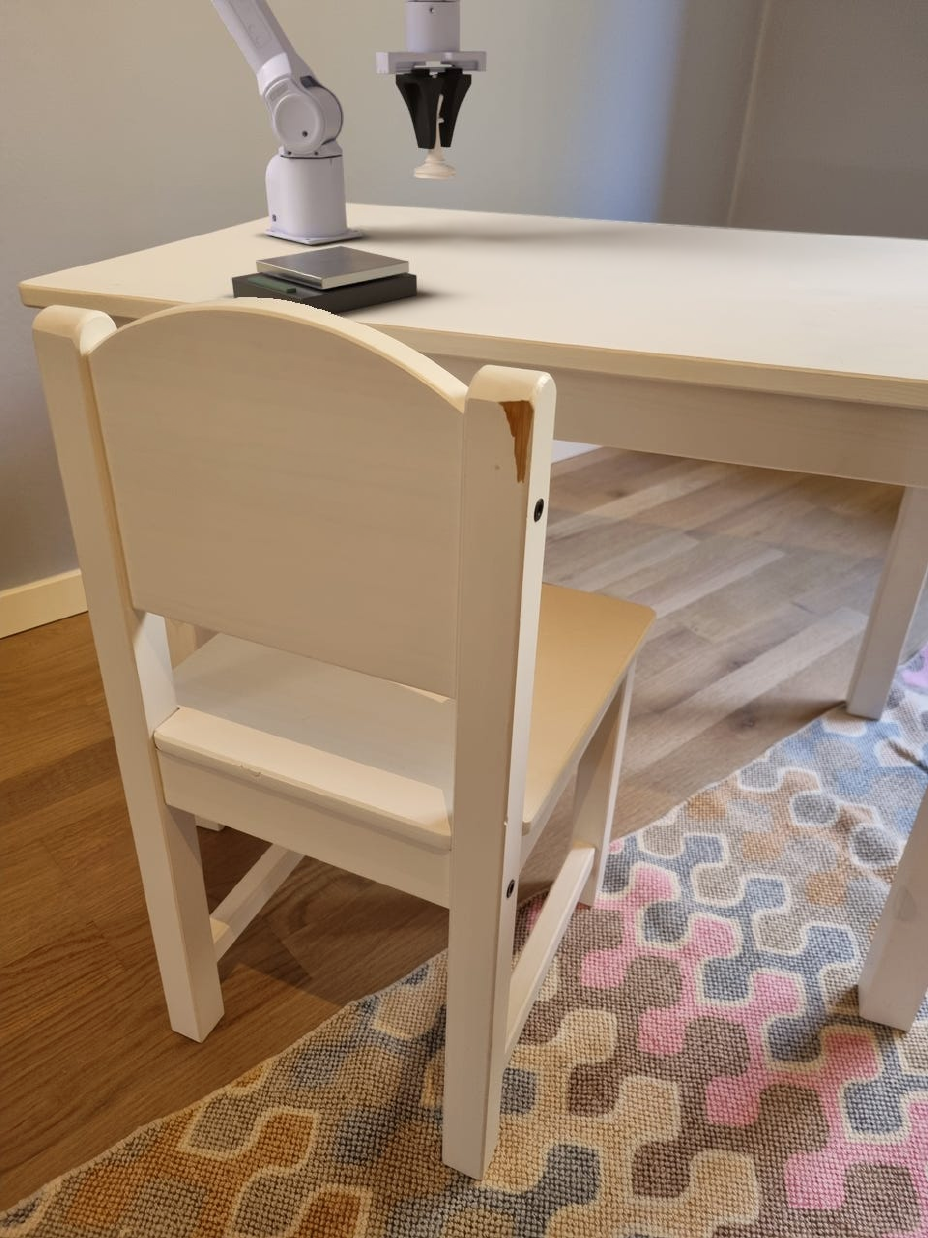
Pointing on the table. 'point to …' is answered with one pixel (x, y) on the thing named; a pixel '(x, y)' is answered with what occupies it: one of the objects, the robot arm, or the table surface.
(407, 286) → the scale
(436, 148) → the chess piece
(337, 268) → the scale pan
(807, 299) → the table surface
